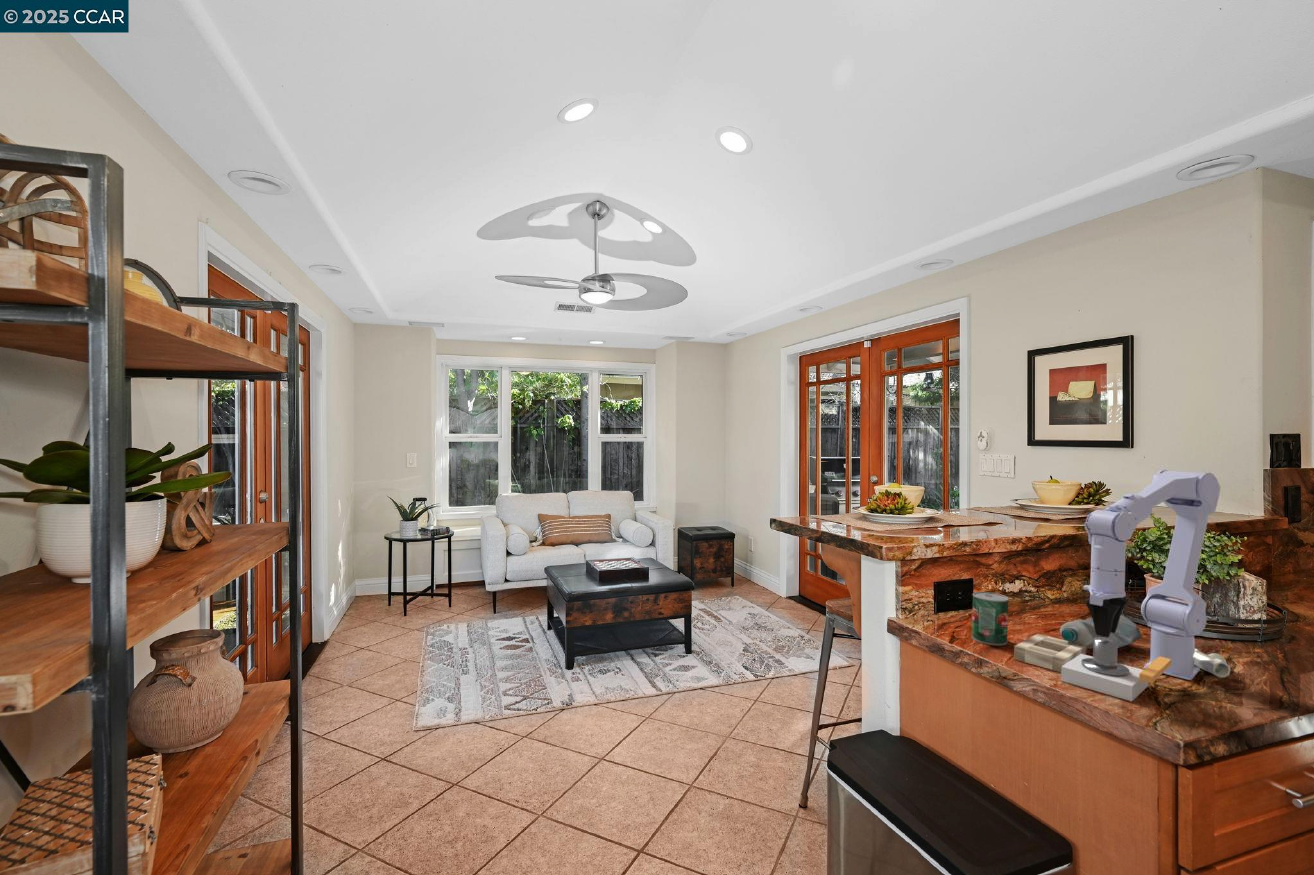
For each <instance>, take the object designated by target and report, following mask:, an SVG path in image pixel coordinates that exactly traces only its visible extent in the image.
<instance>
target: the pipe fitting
mask: <svg viewBox="0 0 1314 875" xmlns="http://www.w3.org/2000/svg"><path fill="white" fill-rule="evenodd" d="M1194 667H1198V668H1200V670H1201V669H1202V670H1203V671H1205V672H1207V673H1209V674H1211V675H1213V676H1214V677H1217V678H1218V679H1219V678H1220V679H1224V678H1226V677H1229V676H1230V673H1231V665H1229V664H1228V663H1227V660H1226V659H1225V657H1224V656H1223V655H1221V654H1219V653H1216V652H1214V653H1213V652H1212V653H1209V654H1206V653H1204V652H1202V651H1201V650H1199V649H1198V648H1195V658H1194Z"/></svg>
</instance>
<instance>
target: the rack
mask: <svg viewBox="0 0 1314 875" xmlns="http://www.w3.org/2000/svg"><path fill="white" fill-rule="evenodd" d="M1080 654H1084V655H1087V649H1086V645H1081V644H1077V643H1073V642H1068V641H1065V640H1064V639H1060V638H1057V637H1053V636H1048V635H1045V634H1040V633H1036V634H1035V635H1033V636H1030V637H1029V638H1027V639H1025V640H1022V641H1021V642H1020V643H1018V644H1015V645H1014V646H1013V660H1015V661H1016V660H1017V661H1019V662H1023V663H1026V664H1030V665H1034V666H1037V667H1041V668H1044V669H1048V670H1051V671H1053V672H1054V671H1055V672H1057V673H1061V667H1062V666H1063V665H1065V664H1066V663H1068V662H1069V661H1071V660H1072V659H1074V658H1075V657H1077V656H1078V655H1080Z"/></svg>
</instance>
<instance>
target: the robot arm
mask: <svg viewBox="0 0 1314 875" xmlns="http://www.w3.org/2000/svg"><path fill="white" fill-rule="evenodd" d="M1220 493H1221V485H1220V483H1219V481H1218V479H1217V477H1216V476H1215V475H1214V474H1213V473H1212V472H1206V471H1205V472H1195V471H1193V472H1192V471H1180V470H1179V471H1178V470H1176V471H1175V470H1169V469H1160V470H1159V471H1158V472H1157V473H1155V474H1153V475H1152V480H1151V483H1150V484H1149V485H1147V486H1146V487H1145V488H1144V489H1142V490H1141V491H1140V492H1139V493H1137V494H1135V493H1125V494H1123V496H1122V497H1121V498H1120V499H1119V500H1117V501H1115V502H1114V503H1112V504H1109V506H1107V507H1106V508H1105V509H1103V510H1102V509H1095V510H1094V511H1092V512H1090V513H1089V514H1088V515H1087V517H1086V520H1085V522H1084V529H1085V532H1086V534H1087V536H1088V543H1089V545H1090V546H1091V549H1090V550H1091V553H1090V578H1089V579H1090V584H1089V585H1088V584H1085V585H1083V590H1084V591H1088V592H1089V593H1090V594H1089V598H1085V600H1084V603H1085V605H1086V607H1087V609H1088V611H1089V612H1090V615H1091V616H1090V617H1091V618H1092V619H1093V623H1094V628H1095V632H1096V635H1100V636H1104V637H1109V635H1110V633H1111V632H1112V633H1115V632H1116V629H1117V626H1118V623H1119V619H1120V616H1121V615H1122V614H1123V612H1124V609H1125V608H1126V606H1127V605H1128V603H1129V599H1128V598H1124V597H1126V595H1127V594H1126V591H1125V587H1126V586H1125V583H1126V555H1127V554H1126V553H1127V552H1126V551H1127V550H1126V547H1127V546H1126V545H1127V540H1130V539H1131V538H1132V536H1133V534H1134V532H1135V530H1136V529H1137V526H1138V525H1140V524H1141V523H1142V522H1144V521H1145V520H1147V519H1148V518H1150V517H1151V516H1152V513H1153V509H1154V507H1157V506H1158V505H1160V504H1162V503H1164V504H1165V505H1166V507H1167V508H1169V509H1170V510H1173V511H1174V512H1175V514H1176V519H1175V526H1174V529H1173V534H1172V537H1171V542H1170V543H1171V544H1170V548H1169V553H1168V557H1167V561H1166V566H1165V570H1164V575H1163V580H1162V582H1161V583H1159V584H1157V585H1154V586H1151V587H1149V588H1148V590H1147V594H1146V597H1145V598H1144V599H1143V601H1142V602H1141V606H1140V607H1141V608H1140V613H1141V616H1142V618H1143V620H1144V621H1145V622H1147V627H1150V628H1151V629H1150V652H1149V653H1150V654H1149V655H1150V656H1149V658H1150V659H1149V662H1147V663H1145V665H1144V666H1143V669H1145V668H1147V667H1148V666H1149V665H1150V664H1151V663H1152V662H1153V661H1154V660H1156V659H1157V658H1158V657H1159V656H1160V657H1164V658H1168V659H1171V666H1170V667H1169V668H1167V669H1166V670H1165V671H1164V672H1163V673H1162V674H1163V675H1164V674H1165V675H1167V676H1171V677H1176V678H1180V679H1182V680H1183V679H1184V680H1186V681H1187V680H1188V681H1192V680H1193V679H1194V678H1195V677H1196V675H1197V674H1198V673H1200V671H1201V668H1199V667H1197V666H1194V658H1195V649H1196V641H1195V636H1199V634H1200V633H1202V632H1203V631H1204V630H1205V628H1206V625H1207V614H1206V613H1207V612H1206V610H1207V609H1206V608H1207V602H1206V601H1205V600H1204V599H1203V598H1202V597H1201V596H1200V595H1199V594H1198V593H1197V592H1196V591H1195V590H1194V585H1195V582H1196V577H1197V571H1198V567H1199V562H1200V558H1201V553H1202V548H1203V544H1204V540H1205V535H1206V530H1207V526H1208V521H1209V516H1210V515H1212V514H1214V513H1216V509H1217V506H1218V502H1219V497H1220ZM1172 599H1174V600H1172ZM1177 600H1179V601H1177ZM1181 601H1182V602H1181ZM1185 602H1186V603H1185Z"/></svg>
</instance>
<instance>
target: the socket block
mask: <svg viewBox="0 0 1314 875" xmlns="http://www.w3.org/2000/svg"><path fill="white" fill-rule="evenodd" d="M1085 658H1093V655H1092V656H1091V655H1087V654H1086V655H1084V654H1080V655H1078V656H1077V657H1075V658H1074V659H1072V660H1071V661H1069V662H1068V663H1066V664H1065V665H1063V666H1062V667H1061V672H1060V674H1061V675H1060V676H1061V677H1060V681H1061V682H1064V683H1067V684H1069V685H1075V686H1078V687H1080V688H1084V689H1088V690H1090V691H1091V690H1092V691H1095V692H1098V693H1102V694H1105V695H1109V696H1112V697H1115V698H1119V699H1122V700H1125V701H1129V702H1133V701H1134V700H1135V699H1136V698H1138V696H1139V695H1141V693H1142V692H1143V691H1145V689H1147V687H1148V686H1149V682H1145V681H1142V680H1139V674H1140V673H1141V672H1142V671H1143V670H1144V669H1141V668H1139V667H1134V666H1130V665H1127V664H1123V663H1120V664H1121V665H1124V666H1126V667H1127V668H1128V669H1129V675H1127V676H1111V675H1105V674H1101V673H1097V672H1094V671H1091V670H1089V669H1087V668H1085V667H1083V666H1082V664H1081V661H1082V659H1085Z"/></svg>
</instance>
